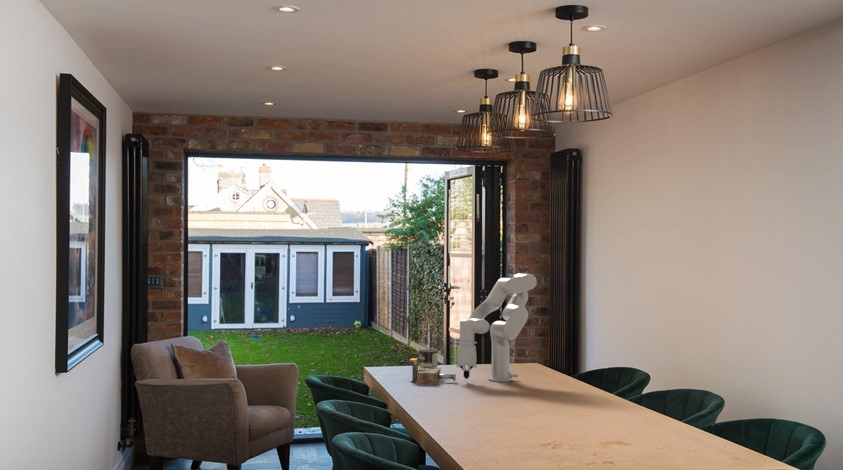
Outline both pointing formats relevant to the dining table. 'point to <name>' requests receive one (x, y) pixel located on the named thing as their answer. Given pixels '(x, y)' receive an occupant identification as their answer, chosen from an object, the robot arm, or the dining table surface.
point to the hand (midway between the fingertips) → (466, 378)
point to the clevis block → (425, 375)
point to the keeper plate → (414, 361)
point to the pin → (447, 376)
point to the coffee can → (427, 358)
